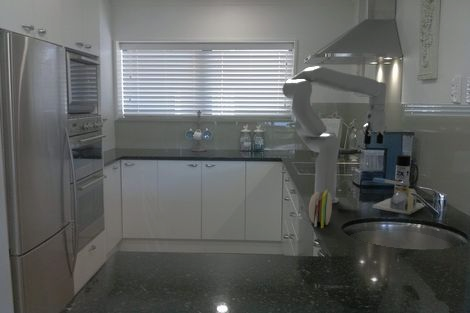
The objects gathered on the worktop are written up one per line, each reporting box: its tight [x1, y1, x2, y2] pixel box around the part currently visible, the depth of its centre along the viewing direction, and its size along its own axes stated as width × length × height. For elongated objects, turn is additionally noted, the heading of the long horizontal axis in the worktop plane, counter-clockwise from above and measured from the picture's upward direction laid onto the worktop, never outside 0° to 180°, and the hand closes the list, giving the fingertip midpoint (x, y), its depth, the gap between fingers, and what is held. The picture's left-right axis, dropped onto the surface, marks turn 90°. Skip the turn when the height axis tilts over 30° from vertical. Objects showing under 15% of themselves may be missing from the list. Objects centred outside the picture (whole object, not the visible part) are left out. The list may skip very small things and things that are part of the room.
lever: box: [372, 177, 410, 187], centre depth 194 cm, size 16×4×2 cm, turn 50°
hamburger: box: [308, 190, 333, 229], centre depth 163 cm, size 12×8×12 cm
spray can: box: [393, 154, 411, 194], centre depth 219 cm, size 7×7×20 cm
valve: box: [372, 186, 425, 215], centre depth 192 cm, size 20×16×10 cm
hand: (373, 143), depth 209 cm, fingers open, 9 cm apart
